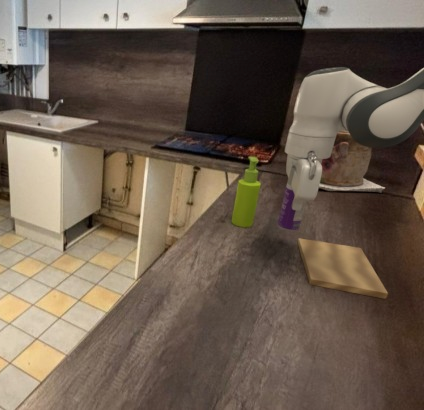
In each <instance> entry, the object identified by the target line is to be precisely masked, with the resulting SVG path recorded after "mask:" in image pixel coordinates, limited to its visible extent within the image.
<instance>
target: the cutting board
mask: <svg viewBox="0 0 424 410" xmlns="http://www.w3.org/2000/svg"><path fill="white" fill-rule="evenodd" d="M297 240H298V241H297V246H298V249H299V253H300V257H301V261H302V263H303V267H304V270H305V273H306V278H307V280H308V284H309V285H312V286H318V287H322V288H327V289H332V290H337V291H342V292H348V293H353V294H358V295H362V296H367V297H368V296H369V297H373V298H376V299H377V298H378V299H382V300H386V299H387V297H388V295H389V292H388V291H387V289H386V287H385V285H384V284H383V282H382V281H381V279H380V277H379V276H378V275H377V274H378V273H376V271H375V269H374V268H373V266H372V264H371V262H370V261H369V259H368V258H367V256H366V254H365V252H364V251H363V249H362V248H361V247H357V246H352V245H346V244H338V243H332V242H325V241H320V240H313V239H306V238H300V237H298V239H297Z"/></svg>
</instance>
